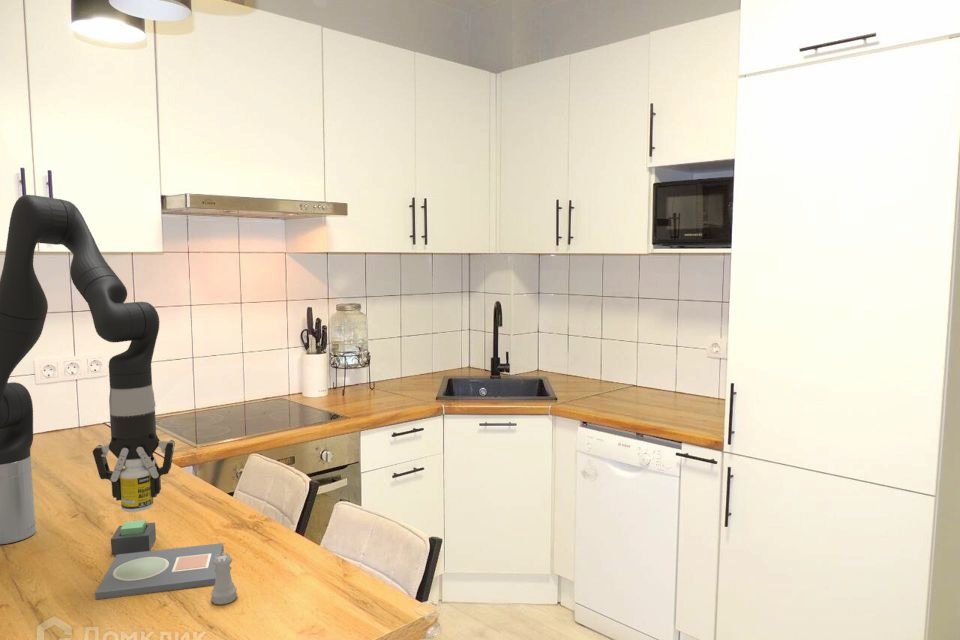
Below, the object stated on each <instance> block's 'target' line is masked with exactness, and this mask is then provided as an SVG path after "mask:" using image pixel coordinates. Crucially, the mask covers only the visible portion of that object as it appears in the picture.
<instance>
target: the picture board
mask: <svg viewBox="0 0 960 640" xmlns="http://www.w3.org/2000/svg"><path fill="white" fill-rule="evenodd" d="M224 548H225V547H224V543H223V542H219V543H212V544H209V543H208V544H202V545H201V544H200V545H191V546H184V547H182V546H181V547H174V548H165V549H156V550H154V549H153V550H150V551H145V552H136V553H127V554H118V555H115V557H114V558H113V560H112V562H111V564H110V566H109V567H108V569H107V571H106V572H105V573H106V574H104V577H103V578H102V580H101V582H100V583H99V585H98V587H97V589H96V590H95V593H94V598H95V600H96V601H97V600H102V599H112V598H119V597H128V596H134V595H143V594H144V593H145V594H152V593H159V592H161V593H162V592H168V591H169V592H170V591H176V590H184V589H192V588H201V587H208V586H215V581H216V572H215V569H216V566H215V565H214V564H213V561H214V560H215V556H216V555H218V554H220V556H222V553H224Z"/></svg>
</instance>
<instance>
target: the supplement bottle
mask: <svg viewBox="0 0 960 640" xmlns="http://www.w3.org/2000/svg"><path fill="white" fill-rule="evenodd" d="M151 478H152V476H151V474H150V472H149V470H148V469H147V468H146V466H145V465H144V463H143V461H142V459H141V458H139V459H126V460H125V462H124V468H123V470H122V471H121V473H120V486H121V500H120V503H121V510H122V511H124V512H126V513H137V512H142V511H146V510H149V509H150V508H152V507H153V505H154V497H153V498H152V494H151Z"/></svg>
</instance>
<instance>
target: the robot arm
mask: <svg viewBox="0 0 960 640" xmlns="http://www.w3.org/2000/svg"><path fill="white" fill-rule="evenodd" d="M7 231H8V232H7V240H6V247H5V254H4V255H5V256H4V261H3V266H2V271H1V274H0V275H1V276H0V545H5V544H6V545H7V544H11V543H16V542H19V541H22V540H26V539H28V538H30V537H31V536H33V535H34V534H35V533H36V530H37V529H36V528H37V527H36V524H37V523H36V515H35V514H36V511H35V510H36V509H35V498H34V486H33V485H34V484H33V471H32V470H33V469H32V457H31V448H32V444H33V443H34V407H33V400H32V396H31V393H30V391H29V390H28V389H27V388H26V386H25V385H23V384H22V383H19V382H11V381H10V382H8V381H9V379H10V377H11V375H12V374H13V371H14V370H15V369H16V367H17V366H18V365H19V364H20V362H21V361H22V360H23V359H24V358H25V356H26V355H28V353H30V351H31V350H32V349H33V348H34V346H35V344H37V342H38V341H39V339H40V337H41V335H42V333H43V329H44V327H45V321H46V318H47V315H48V310H49V309H48V308H49V305H48V300H47V296H46V293H45V292H44V290H43V288H42V285H41V283H40V281H39V280H38V276H37V275H36V271H35V268H34V258H35V257H34V255H35V250H36V246H37V244H47V245H61V246H64V247H65V248H66V249H67V250H69V251H70V252H71V254H72V255H73V256H72V259H71V263H70V268H69V269H70V271H69V274H70V278H71V281H72V283H73V285H74V287H75V289H76V290H77V291H78V293H79V294H80V296H81V297H82V298H83V299H84V301H85V302H86V303H87V305H88V308H89V311H90V314H91V318H92V322H93V325H94V329H95V331H96V334H97V335H98V336H99V337H100V338H101V339H102V340H104V341H106V342H108V343H124V342H130V344H129V346H128V347H127V349H126V350H125V351H123V352H121V353H118V354H116V355H114V356H112V357H110V358H109V361H108V376H109V379H108V380H109V396H108V397H109V399H108V401H109V402H108V405H109V421H110V422H109V423H110V437H111V438H110V442H109V443H108V444H106V445H101V444H99V445H97V446H95V448H94V449H93V450H92V455H93V458H94V461H95V466H96V470H97V472H98V476H99V479H101V480H109V481H110V482H111V494H112V495H111V496H112V497H113V499H115V500H116V501H117V502H118V501H121V486H120V473H121V471H122V470H123V469H124V468H125V466H124V462H125V460H126V459H139V458H141V459H142V461H143V463H144V465H145V466H146V468H147V469H148V470H149V472H150V474H151V476H152V478H151V494H152V498H153V499H154V498H157V496H158V495H159V494H160V493H161V490H162V483H161V481H162V478H161V477H162V476H163V475H168V474H169V472H170V470H171V469H172V463H173V458H174V457H173V456H174V451H175V444H176V443H175V440H173V439H170V440H169V441H166V440H160V438H159V437H158V435H157V426H156V425H157V424H156V400H155V393H154V389H153V379H152V375H153V374H152V360H153V356H154V352H155V349H156V343H157V339H158V335H159V330H160V317H159V313H158V311H157V310H156V308H155V307H154V306H153V305H152V303H150V302H147V301H134V302H132V301H130V302H125V301H126V300H127V297H128V289H127V288H126V286H125V284H124V283H123V282H122V280H121V278H120V277H118V275H117V274H116V272H115V271H114V270H113V268H112V267H111V266H109V264H108V262H107V261H106V260H105V257H104V256H103V254H102V253H101V250H100V249H99V247H98V245H97V243H96V240H95V238H94V236H93V234H92V232H91V231H90V228H89V226H88V224H87V222H86V220H85V218H84V217H83V215H82V213H81V211H80V210H79V208H78V207H77V205H75V204H74V203H72V202H71V201H68V200H67V199H66V200H65V199H61V198H55V197H50V196H49V197H47V196H41V195H33V194H24V195H22V196H20V197H18V199H17V200H16V201H15V202H14V204H13V208H12V210H11V214H10V218H9V226H8V230H7ZM158 448H160V450H161V453H163V454H164V457H163V461H162V466H159V464H158V463H157V459H156V457H155V455H154V453H155V451H156V450H157V449H158ZM109 451H110V452H111V453H112V454H113V455H114V456H115V457H116V459H117V461H116V463H115V466H114V468H113V470H111V469H110V467H109V463H108V460H107V457H108V455H109Z"/></svg>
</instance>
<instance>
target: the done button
mask: <svg viewBox="0 0 960 640" xmlns="http://www.w3.org/2000/svg"><path fill="white" fill-rule="evenodd" d="M146 523H147V520H146V519H142V520H129V521H124V523H123V524H122V525H121V526H122V528H121V529H120V530H121V536H126V535H136V534H144V532H145V530H146Z"/></svg>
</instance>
